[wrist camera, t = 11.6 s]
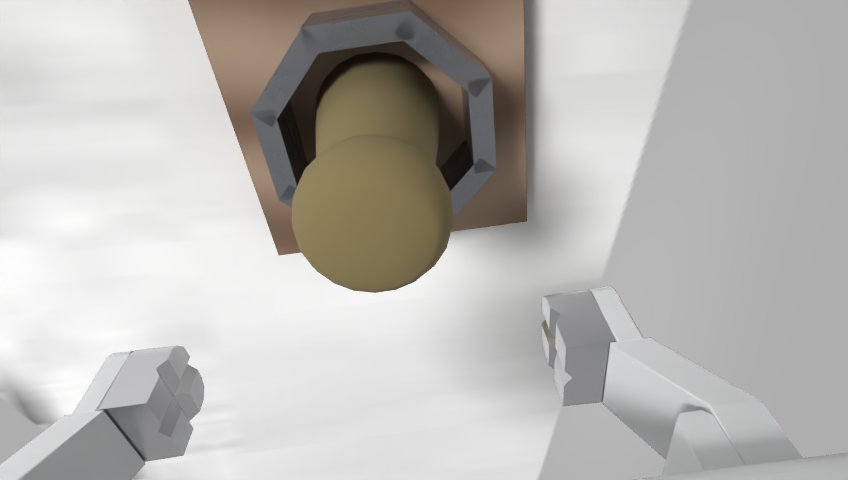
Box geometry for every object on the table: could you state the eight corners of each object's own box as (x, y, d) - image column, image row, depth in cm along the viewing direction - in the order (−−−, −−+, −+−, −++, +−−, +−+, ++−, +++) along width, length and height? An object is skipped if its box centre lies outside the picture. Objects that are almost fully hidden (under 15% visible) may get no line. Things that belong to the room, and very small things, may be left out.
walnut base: (192, -26, 22) (180, -22, 20) (514, -75, 21) (522, -74, 20) (283, 240, 29) (279, 255, 28) (520, 207, 29) (526, 221, 28)
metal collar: (243, 22, 21) (224, 38, 19) (476, -12, 21) (488, -1, 19) (304, 220, 27) (295, 252, 24) (489, 195, 27) (499, 224, 24)
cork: (460, 76, 23) (505, 186, 14) (417, 187, 26) (432, 337, 17) (331, 32, 22) (290, 121, 13) (302, 154, 25) (252, 298, 16)
